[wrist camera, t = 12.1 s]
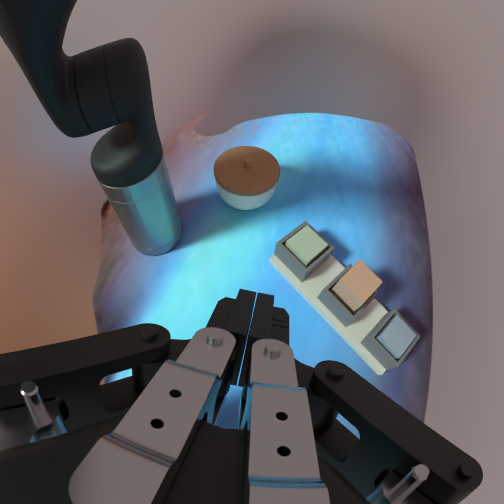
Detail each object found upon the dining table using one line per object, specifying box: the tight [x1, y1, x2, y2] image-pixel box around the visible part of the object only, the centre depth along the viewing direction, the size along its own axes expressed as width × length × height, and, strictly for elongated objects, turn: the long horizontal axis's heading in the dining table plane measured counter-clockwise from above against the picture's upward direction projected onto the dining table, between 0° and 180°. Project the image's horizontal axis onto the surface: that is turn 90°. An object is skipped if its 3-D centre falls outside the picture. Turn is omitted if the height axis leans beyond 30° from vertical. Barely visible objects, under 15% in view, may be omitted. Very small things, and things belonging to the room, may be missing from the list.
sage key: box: [285, 225, 328, 268], centre depth 44 cm, size 4×4×4 cm
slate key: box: [374, 315, 416, 359], centre depth 38 cm, size 4×4×4 cm
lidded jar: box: [214, 146, 280, 210], centre depth 49 cm, size 11×11×9 cm
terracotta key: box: [333, 260, 382, 311], centre depth 38 cm, size 4×4×4 cm
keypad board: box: [269, 221, 421, 375], centre depth 42 cm, size 25×8×5 cm, turn 41°
